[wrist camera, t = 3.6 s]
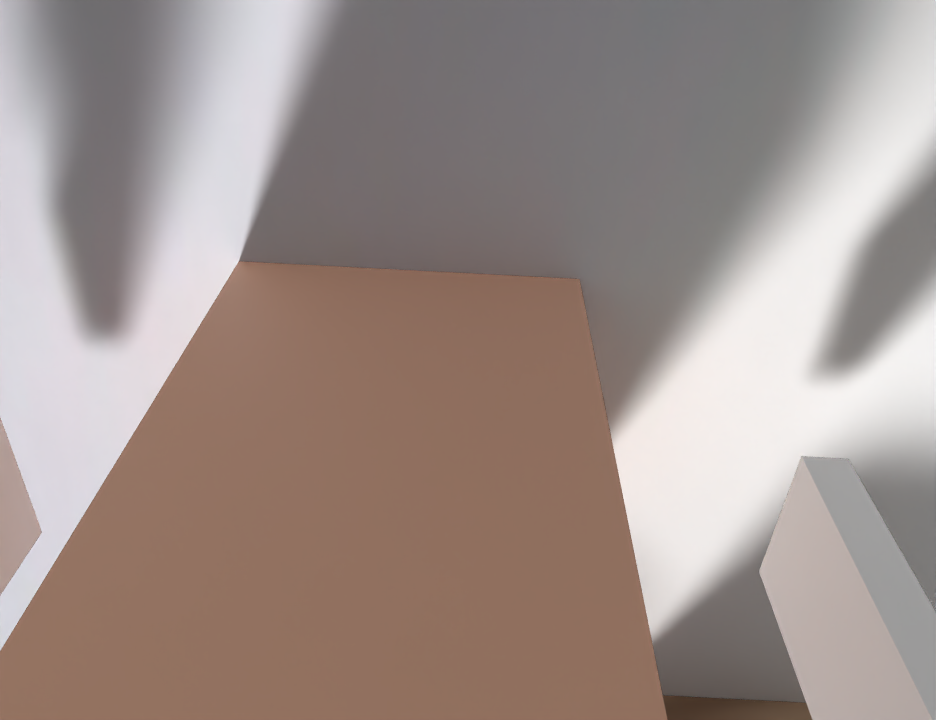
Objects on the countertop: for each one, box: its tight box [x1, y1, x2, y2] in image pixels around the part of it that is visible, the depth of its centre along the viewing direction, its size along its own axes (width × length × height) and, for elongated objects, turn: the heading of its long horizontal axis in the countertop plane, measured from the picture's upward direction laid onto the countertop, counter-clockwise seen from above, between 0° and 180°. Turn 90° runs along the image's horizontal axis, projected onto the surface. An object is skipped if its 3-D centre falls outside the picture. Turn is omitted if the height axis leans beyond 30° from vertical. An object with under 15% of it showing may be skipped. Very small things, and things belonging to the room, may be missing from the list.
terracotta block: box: [0, 261, 667, 720], centre depth 12 cm, size 6×6×9 cm
